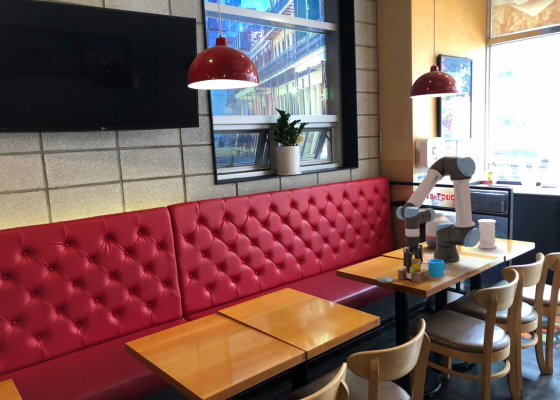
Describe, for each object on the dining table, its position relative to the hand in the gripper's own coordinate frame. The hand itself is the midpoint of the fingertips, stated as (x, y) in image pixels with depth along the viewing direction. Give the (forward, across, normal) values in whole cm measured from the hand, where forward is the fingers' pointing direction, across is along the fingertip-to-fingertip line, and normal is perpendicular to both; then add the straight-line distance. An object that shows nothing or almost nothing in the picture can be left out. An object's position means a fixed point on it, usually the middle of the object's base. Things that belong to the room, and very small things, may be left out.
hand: (413, 276), depth 242 cm
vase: (+1, -69, -32) cm, 76 cm away
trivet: (+1, +12, -9) cm, 15 cm away
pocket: (+1, 0, 0) cm, 1 cm away
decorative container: (+1, -90, -9) cm, 90 cm away
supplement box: (+1, 0, 0) cm, 1 cm away
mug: (+1, -15, +5) cm, 16 cm away
